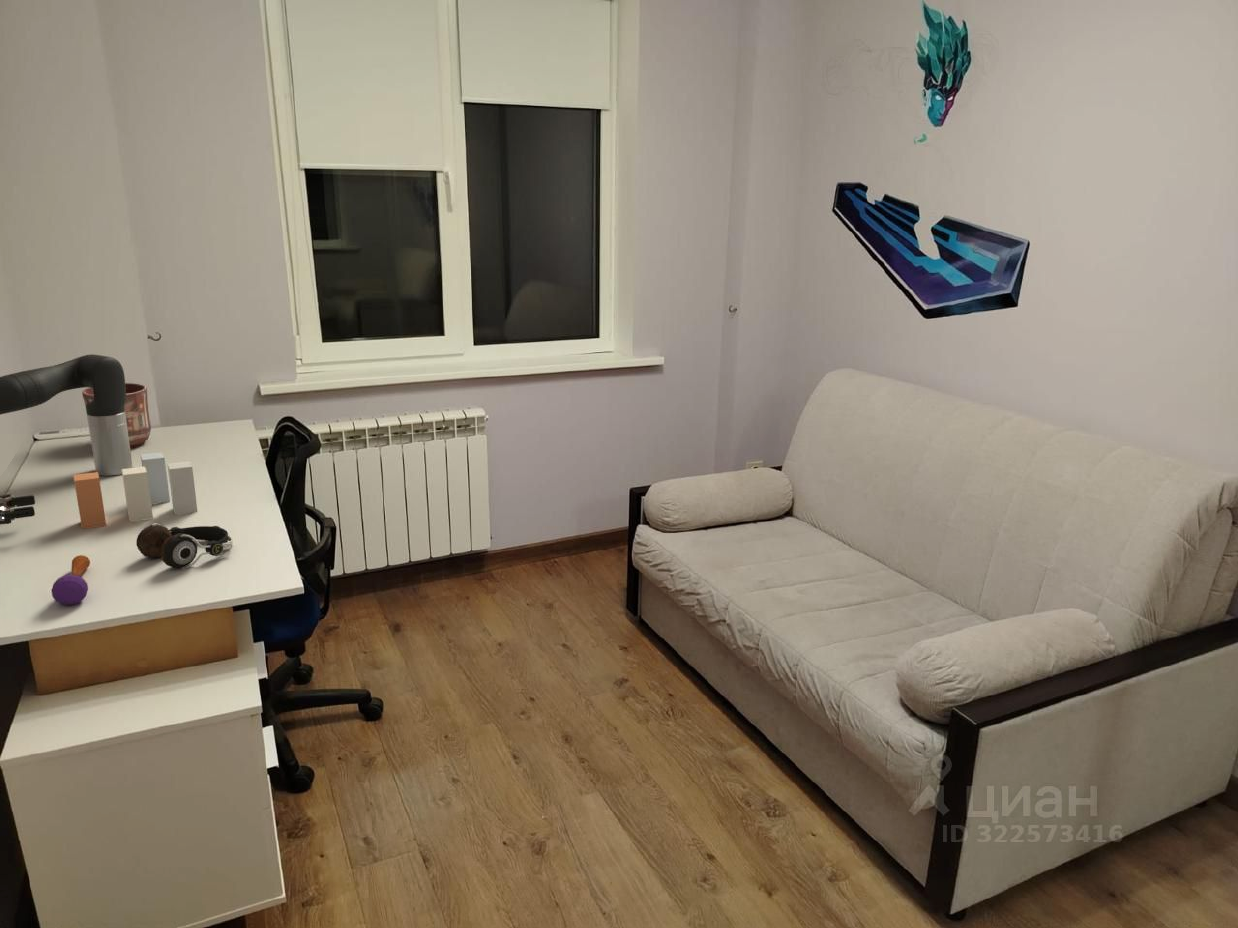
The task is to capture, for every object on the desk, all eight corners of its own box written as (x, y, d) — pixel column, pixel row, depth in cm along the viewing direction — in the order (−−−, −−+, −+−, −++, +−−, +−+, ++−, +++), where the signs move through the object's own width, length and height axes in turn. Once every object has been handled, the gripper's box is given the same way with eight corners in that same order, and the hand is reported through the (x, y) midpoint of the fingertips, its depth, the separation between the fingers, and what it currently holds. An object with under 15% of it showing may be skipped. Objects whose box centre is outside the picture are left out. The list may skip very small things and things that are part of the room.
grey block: (173, 508, 217) (167, 463, 214) (194, 505, 220) (189, 461, 216) (175, 514, 213) (169, 469, 210) (197, 511, 216) (192, 466, 212)
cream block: (128, 515, 212) (121, 469, 209) (150, 511, 215) (144, 466, 211) (130, 521, 208) (123, 474, 205) (153, 518, 211) (146, 472, 207)
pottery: (76, 447, 263) (67, 390, 258) (127, 434, 279) (120, 380, 273) (117, 456, 257) (109, 398, 251) (167, 442, 272) (160, 387, 267)
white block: (146, 498, 224) (140, 454, 220) (167, 495, 226) (162, 452, 223) (148, 504, 220) (142, 460, 216) (170, 501, 222) (164, 457, 219)
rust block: (81, 521, 207) (73, 474, 203) (105, 518, 210) (97, 472, 206) (82, 528, 203) (74, 480, 199) (106, 525, 206) (99, 477, 202)
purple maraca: (98, 549, 183) (87, 580, 165) (96, 576, 184) (84, 609, 166) (65, 548, 180) (50, 579, 162) (63, 575, 181) (48, 609, 163)
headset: (126, 522, 187) (209, 509, 204) (125, 556, 188) (208, 541, 205) (173, 540, 178) (256, 525, 196) (172, 575, 180) (255, 557, 197)
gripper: (-60, 510, 183) (31, 499, 192) (-54, 491, 194) (32, 481, 203) (-53, 543, 185) (37, 530, 194) (-47, 521, 197) (37, 510, 205)
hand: (34, 505), depth 198 cm, fingers open, 8 cm apart
